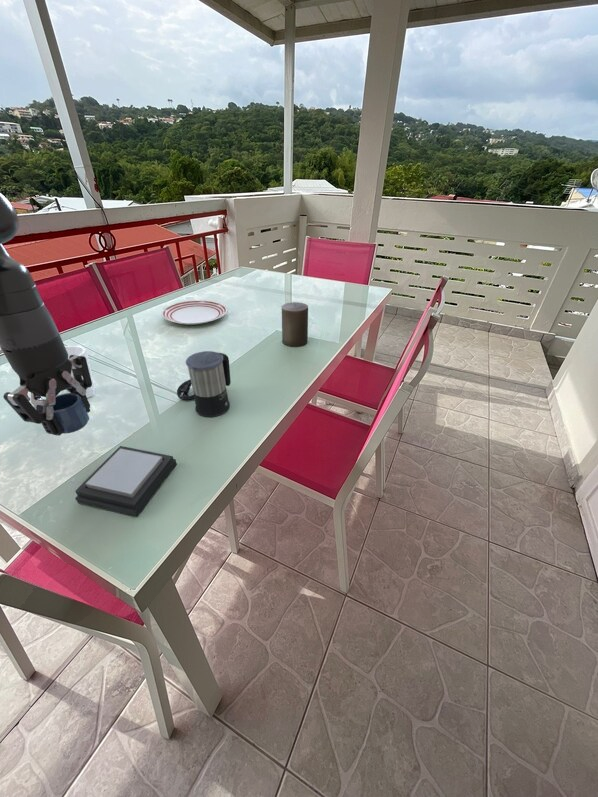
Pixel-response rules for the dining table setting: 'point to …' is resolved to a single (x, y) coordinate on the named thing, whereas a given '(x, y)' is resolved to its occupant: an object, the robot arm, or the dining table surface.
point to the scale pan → (125, 473)
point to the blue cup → (70, 412)
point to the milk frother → (207, 383)
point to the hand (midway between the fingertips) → (71, 422)
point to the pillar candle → (294, 324)
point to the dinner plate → (194, 312)
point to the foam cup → (82, 352)
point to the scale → (120, 502)
